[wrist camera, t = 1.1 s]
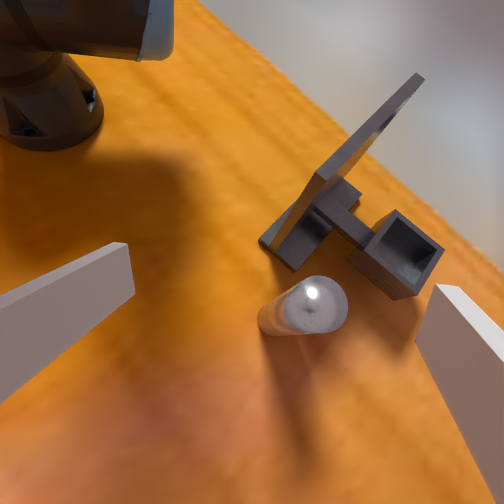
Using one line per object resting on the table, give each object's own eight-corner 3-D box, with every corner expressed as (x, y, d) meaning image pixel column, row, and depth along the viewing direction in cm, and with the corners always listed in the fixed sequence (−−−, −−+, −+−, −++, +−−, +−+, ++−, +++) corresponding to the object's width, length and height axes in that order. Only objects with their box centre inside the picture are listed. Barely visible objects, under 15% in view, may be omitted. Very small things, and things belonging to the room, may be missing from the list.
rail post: (250, 320, 34) (282, 304, 19) (271, 296, 36) (315, 264, 21) (275, 343, 34) (327, 346, 19) (295, 318, 35) (358, 301, 20)
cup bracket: (257, 240, 38) (298, 157, 21) (326, 171, 44) (401, 62, 27) (358, 330, 36) (496, 321, 19) (415, 245, 42) (560, 178, 25)
